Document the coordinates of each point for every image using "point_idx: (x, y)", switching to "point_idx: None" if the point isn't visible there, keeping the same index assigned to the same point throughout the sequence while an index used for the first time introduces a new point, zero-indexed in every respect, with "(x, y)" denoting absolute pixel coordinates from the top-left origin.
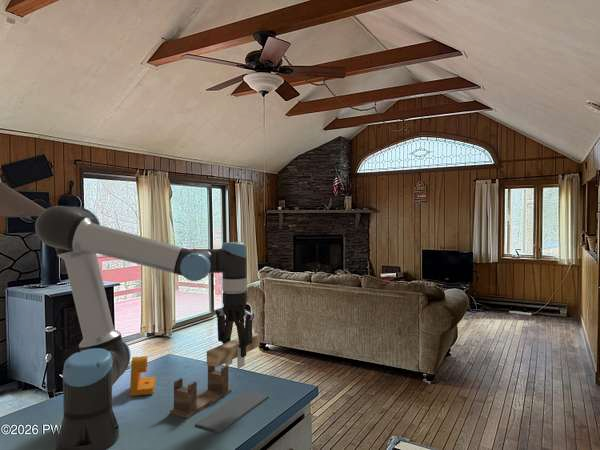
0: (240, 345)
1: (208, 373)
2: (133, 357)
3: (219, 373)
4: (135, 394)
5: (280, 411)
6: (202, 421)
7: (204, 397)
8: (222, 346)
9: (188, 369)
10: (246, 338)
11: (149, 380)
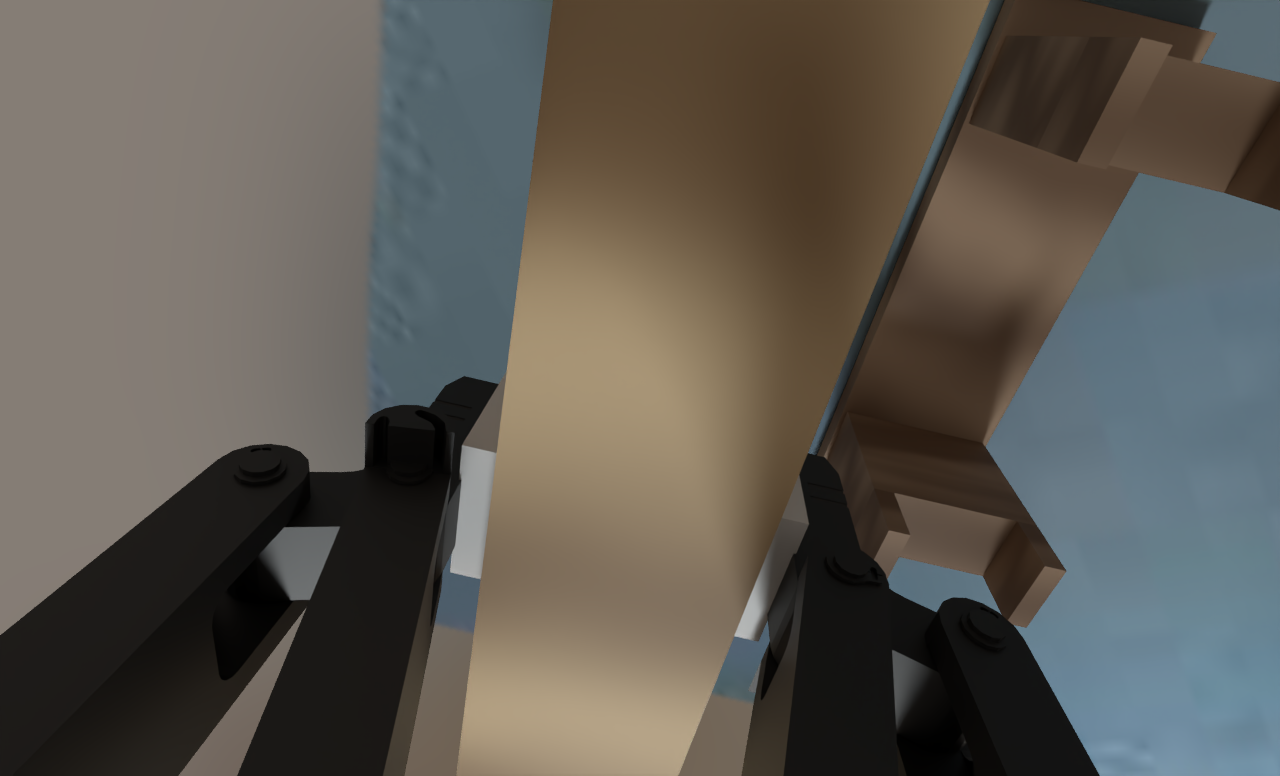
0: (417, 463)
1: (1025, 519)
2: None
3: (921, 523)
4: None
5: (384, 289)
6: None
7: (967, 324)
8: (756, 274)
9: (1223, 701)
10: (155, 557)
11: None
